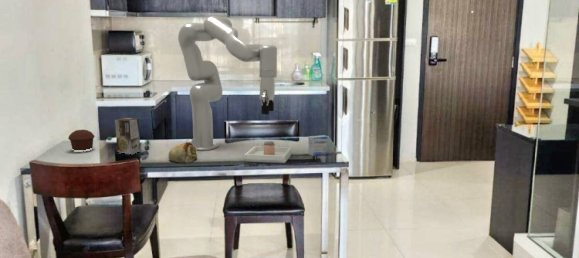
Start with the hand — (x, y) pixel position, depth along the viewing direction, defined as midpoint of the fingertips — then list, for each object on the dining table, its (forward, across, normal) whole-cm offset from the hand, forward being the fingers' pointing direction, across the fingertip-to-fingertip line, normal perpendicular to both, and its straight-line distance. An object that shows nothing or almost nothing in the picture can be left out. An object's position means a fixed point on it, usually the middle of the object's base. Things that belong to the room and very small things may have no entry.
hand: (267, 112), depth 224 cm
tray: (+20, 0, +1) cm, 20 cm away
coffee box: (+22, +2, -66) cm, 70 cm away
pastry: (+22, +11, -36) cm, 43 cm away
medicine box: (+20, -10, +22) cm, 31 cm away
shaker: (+19, 0, +1) cm, 19 cm away
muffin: (+23, +2, -90) cm, 93 cm away
